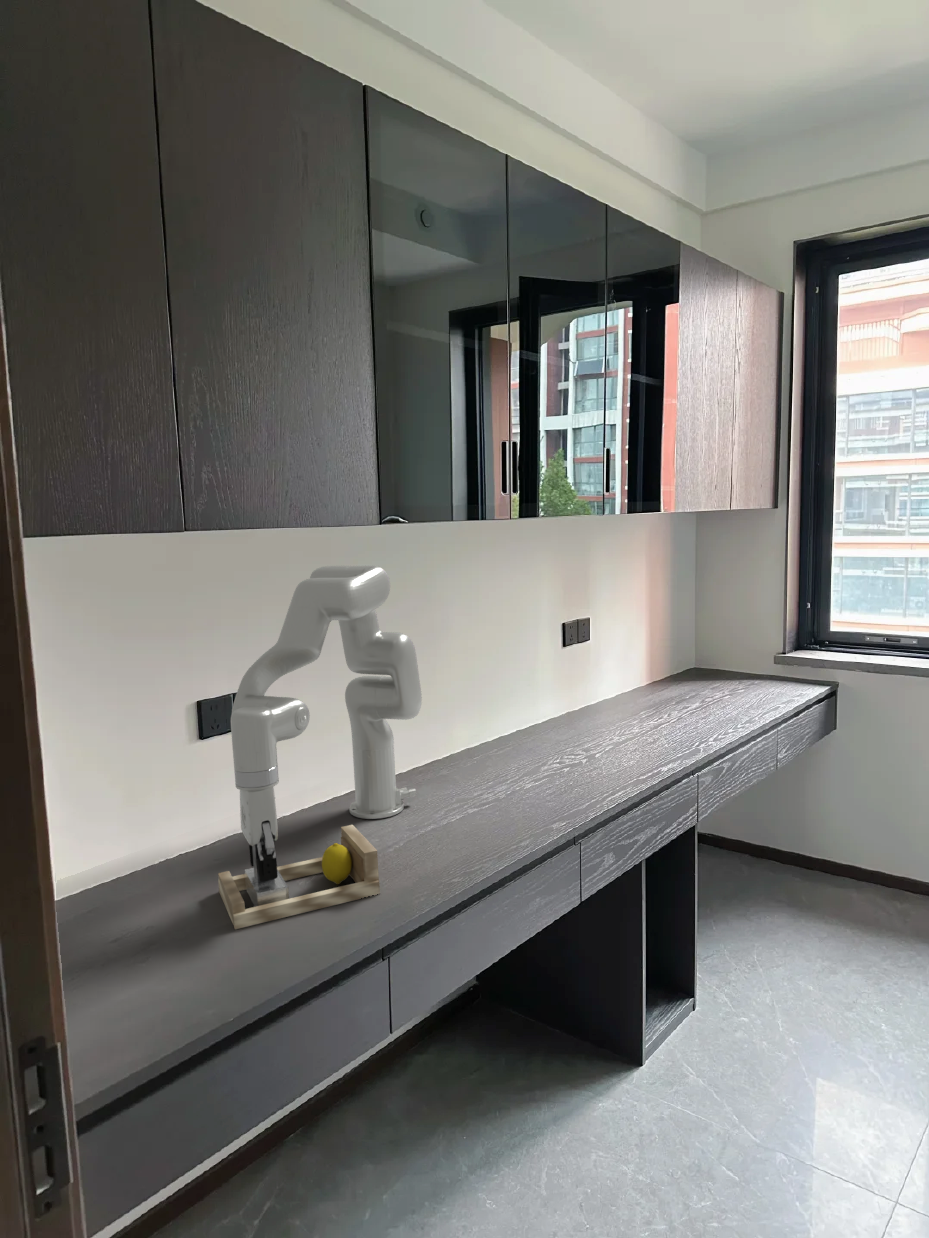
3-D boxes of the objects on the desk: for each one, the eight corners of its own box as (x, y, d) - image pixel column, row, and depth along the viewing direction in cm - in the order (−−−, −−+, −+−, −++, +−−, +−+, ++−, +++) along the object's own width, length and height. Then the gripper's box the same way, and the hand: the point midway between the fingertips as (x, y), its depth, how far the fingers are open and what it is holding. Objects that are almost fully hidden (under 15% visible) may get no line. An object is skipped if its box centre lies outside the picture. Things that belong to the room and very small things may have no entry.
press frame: (353, 861, 168) (351, 823, 167) (381, 893, 154) (378, 851, 153) (219, 891, 157) (215, 850, 156) (235, 929, 143) (231, 884, 142)
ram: (276, 883, 159) (271, 825, 158) (290, 907, 149) (286, 845, 148) (246, 890, 157) (241, 830, 155) (258, 914, 147) (253, 852, 145)
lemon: (339, 874, 163) (336, 835, 161) (358, 882, 159) (356, 841, 158) (317, 885, 158) (314, 844, 157) (336, 893, 155) (334, 851, 154)
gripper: (226, 766, 156) (233, 858, 158) (245, 794, 140) (252, 895, 143) (267, 760, 159) (273, 850, 162) (289, 786, 144) (296, 885, 146)
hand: (263, 870), depth 152 cm, fingers open, 6 cm apart
